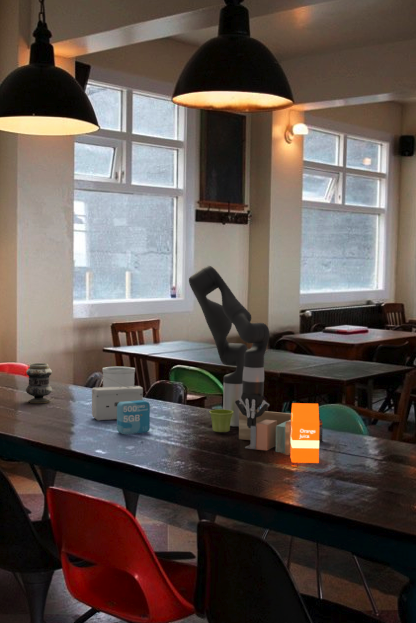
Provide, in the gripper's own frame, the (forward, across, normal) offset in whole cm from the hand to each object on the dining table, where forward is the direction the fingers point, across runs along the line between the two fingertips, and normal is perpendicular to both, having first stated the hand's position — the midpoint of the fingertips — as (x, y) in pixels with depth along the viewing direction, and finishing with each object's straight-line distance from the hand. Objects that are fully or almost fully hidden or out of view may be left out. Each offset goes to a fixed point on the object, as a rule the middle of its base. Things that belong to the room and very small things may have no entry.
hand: (251, 428), depth 297 cm
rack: (+8, +4, +2) cm, 9 cm away
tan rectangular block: (+6, +6, 0) cm, 9 cm away
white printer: (+10, -73, +27) cm, 79 cm away
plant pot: (+8, -21, +20) cm, 30 cm away
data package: (+9, -52, +5) cm, 53 cm away
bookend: (+6, +3, 0) cm, 7 cm away
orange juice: (+7, +24, -11) cm, 28 cm away
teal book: (+6, +13, 0) cm, 14 cm away
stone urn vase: (+12, -128, +44) cm, 136 cm away
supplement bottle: (+7, +17, +19) cm, 26 cm away
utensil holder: (+10, -89, +53) cm, 104 cm away
